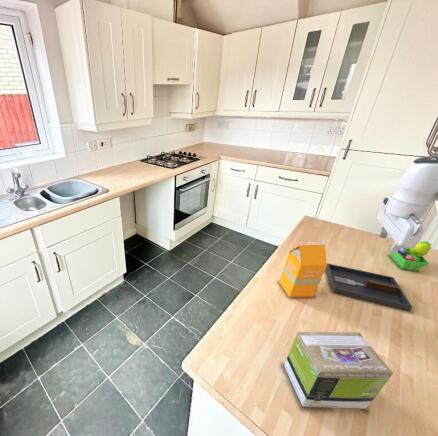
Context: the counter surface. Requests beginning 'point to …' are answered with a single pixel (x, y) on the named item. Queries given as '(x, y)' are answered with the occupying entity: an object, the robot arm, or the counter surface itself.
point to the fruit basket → (412, 256)
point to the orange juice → (303, 270)
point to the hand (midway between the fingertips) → (386, 244)
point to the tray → (363, 292)
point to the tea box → (335, 370)
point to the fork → (371, 285)
